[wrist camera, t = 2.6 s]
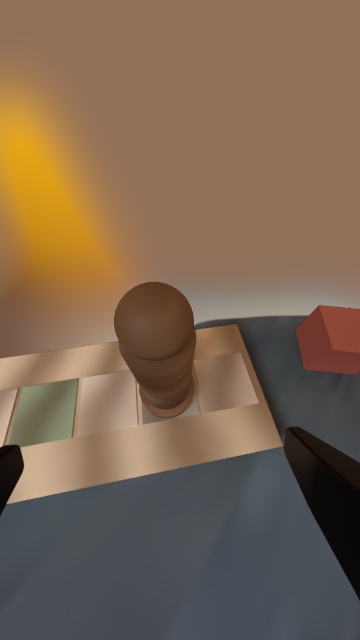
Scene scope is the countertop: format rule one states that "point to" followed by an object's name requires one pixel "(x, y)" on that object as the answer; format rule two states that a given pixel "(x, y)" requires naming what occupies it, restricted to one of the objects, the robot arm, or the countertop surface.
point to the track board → (126, 415)
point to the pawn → (158, 345)
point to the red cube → (331, 340)
